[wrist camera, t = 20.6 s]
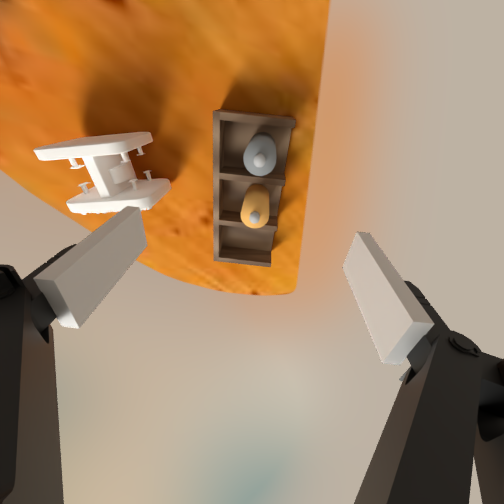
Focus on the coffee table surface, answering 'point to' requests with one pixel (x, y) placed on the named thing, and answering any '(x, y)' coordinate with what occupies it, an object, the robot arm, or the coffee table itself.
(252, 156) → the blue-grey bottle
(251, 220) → the yellow knobbed cylinder
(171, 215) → the coffee table surface
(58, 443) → the robot arm
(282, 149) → the brown compartment tray
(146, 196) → the cable organizer
